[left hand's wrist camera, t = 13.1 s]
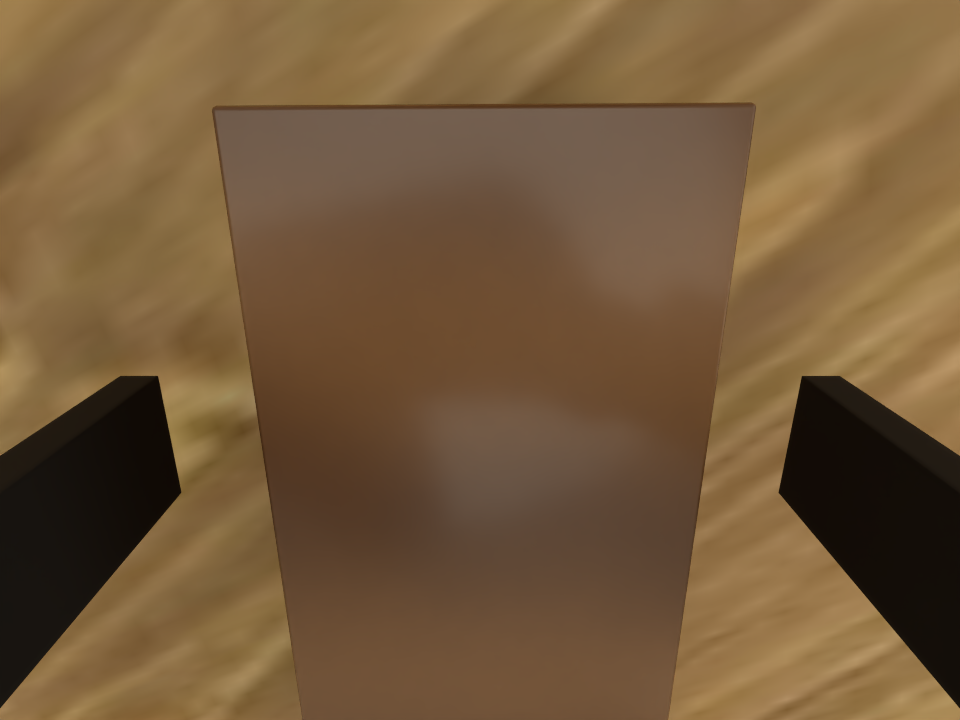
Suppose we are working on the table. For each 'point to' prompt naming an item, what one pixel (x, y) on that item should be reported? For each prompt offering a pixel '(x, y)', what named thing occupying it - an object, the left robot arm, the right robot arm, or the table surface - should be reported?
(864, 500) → the left robot arm
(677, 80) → the table surface
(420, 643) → the bar
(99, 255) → the table surface
